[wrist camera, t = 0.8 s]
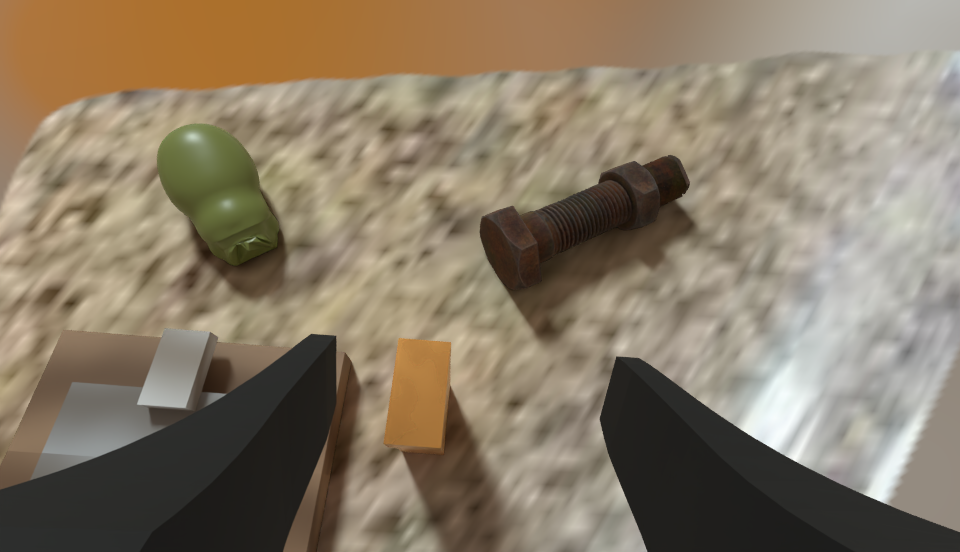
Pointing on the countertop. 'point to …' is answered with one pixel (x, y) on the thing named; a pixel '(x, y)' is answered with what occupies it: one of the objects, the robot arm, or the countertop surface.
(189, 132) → the pear
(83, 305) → the countertop surface
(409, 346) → the notched wooden block
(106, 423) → the brown grey stepped board
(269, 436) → the robot arm
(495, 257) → the bolt
